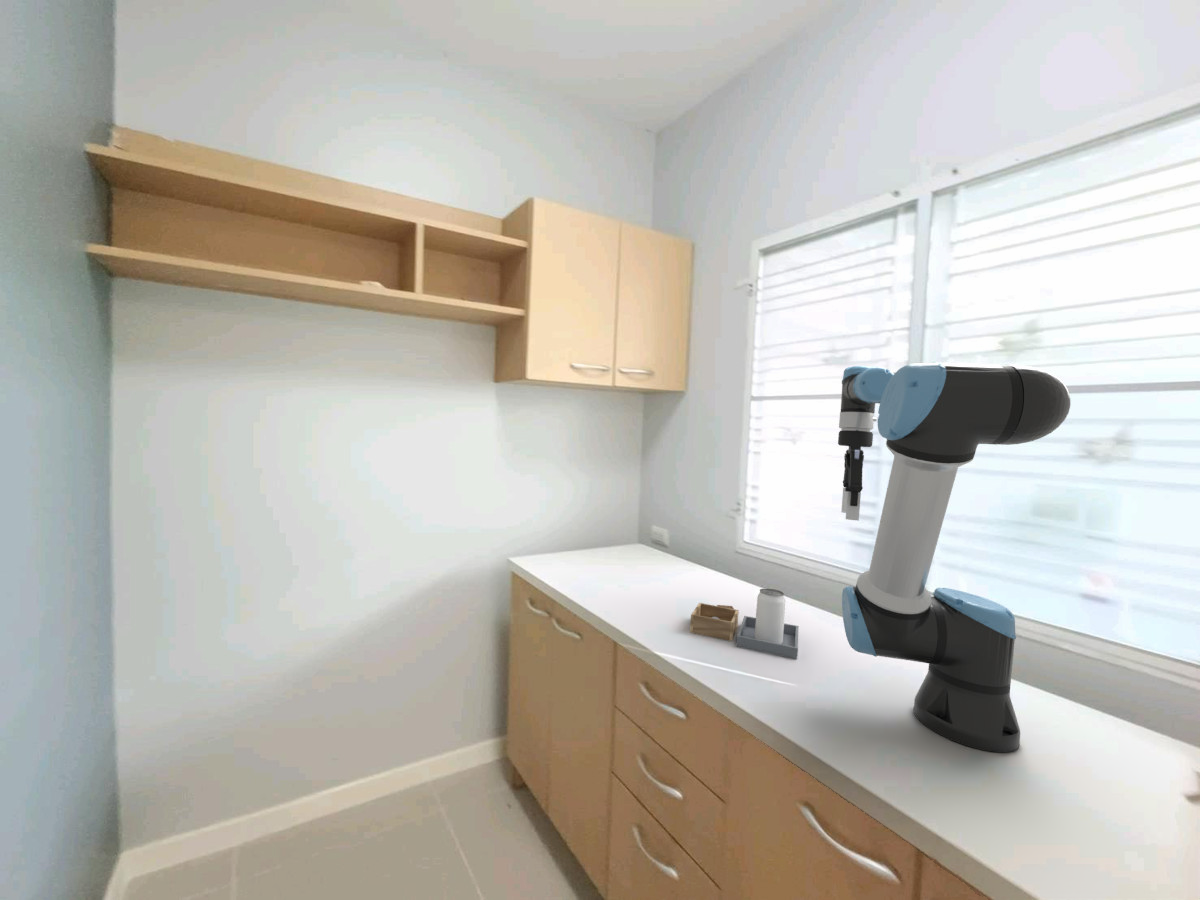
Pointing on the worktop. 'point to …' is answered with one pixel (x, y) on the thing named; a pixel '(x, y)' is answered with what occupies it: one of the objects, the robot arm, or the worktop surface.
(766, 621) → the can
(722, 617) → the oak bin
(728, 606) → the walnut block
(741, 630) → the grey tray
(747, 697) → the worktop surface
